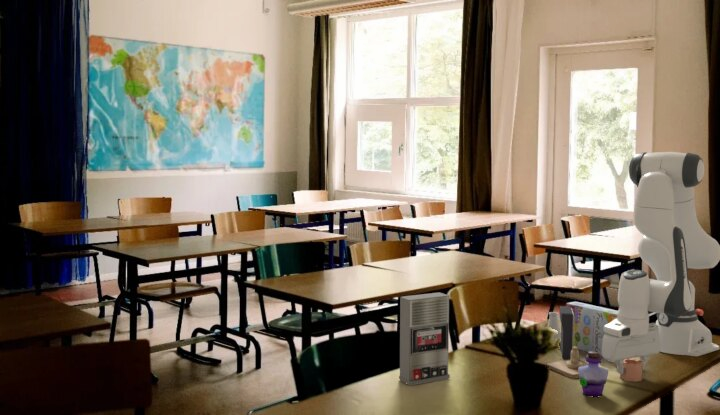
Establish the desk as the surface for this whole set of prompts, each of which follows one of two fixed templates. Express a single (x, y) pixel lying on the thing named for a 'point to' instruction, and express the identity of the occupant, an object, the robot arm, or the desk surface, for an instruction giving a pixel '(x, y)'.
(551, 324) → the flask
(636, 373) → the pink cylinder
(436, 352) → the cassette tape recorder
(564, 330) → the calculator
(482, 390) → the desk surface
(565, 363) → the stand
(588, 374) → the potion bottle
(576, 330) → the snack box
